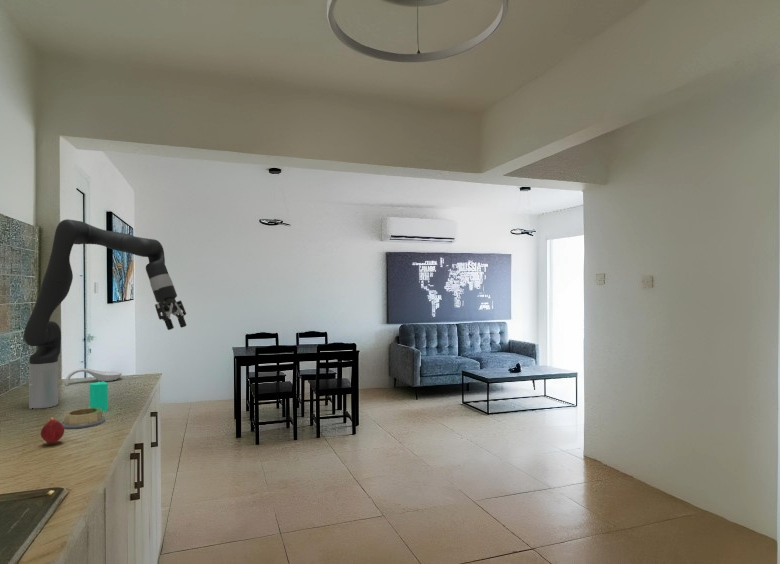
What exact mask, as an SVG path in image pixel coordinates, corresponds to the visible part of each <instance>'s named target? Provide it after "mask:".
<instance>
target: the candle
mask: <svg viewBox="0 0 780 564" xmlns="http://www.w3.org/2000/svg"><path fill="white" fill-rule="evenodd" d="M108 385H109V382H100V381H99V379H98V380H97V382H92V383H89V387H88V389H89V390H88V391H89V408H102V413H103V411H104V412H106V411H109V386H108Z"/></svg>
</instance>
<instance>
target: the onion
mask: <svg viewBox="0 0 780 564" xmlns="http://www.w3.org/2000/svg"><path fill="white" fill-rule="evenodd" d="M61 423H62V422H60V421H58V420H56V419H55V418H54V417H52V416H51V418H50V419H49V421H48V422H47V423H45V424H44V425H43V427H42V429H40V437H41V439H43V441H45V442H46V443H48V444H50V445H54V444H56V442H58V441H59V440H61V438H62V437H63V436H64V432H65V429H64V427H63V425H62V424H61Z"/></svg>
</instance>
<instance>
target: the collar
mask: <svg viewBox="0 0 780 564" xmlns="http://www.w3.org/2000/svg"><path fill="white" fill-rule="evenodd" d="M63 416H64V420H63V421H64V424H66V425H83V424H89V423H93V422H97V421H99V420H101V419H102V416H103V412H102V408H90V407H84V408H83V407H82V408H77V409H73V410H69V411H66V412H64V415H63Z"/></svg>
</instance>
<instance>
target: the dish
mask: <svg viewBox="0 0 780 564" xmlns="http://www.w3.org/2000/svg"><path fill="white" fill-rule="evenodd" d="M103 422H104V423H105V422H106V416H104V415H102V419H101V420H99V421H97V422H93V423H89V424H83V425H66V424H64V420H63V421H61V422H60V423H61V424H62V425H63V427H64V428H65V429H64V430H77V429H78V430H80V429H86V428H92V427H96V426H99V425H101V423H102V424H103ZM98 424H99V425H98ZM95 425H96V426H95ZM91 426H92V427H91ZM79 428H80V429H79Z"/></svg>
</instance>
